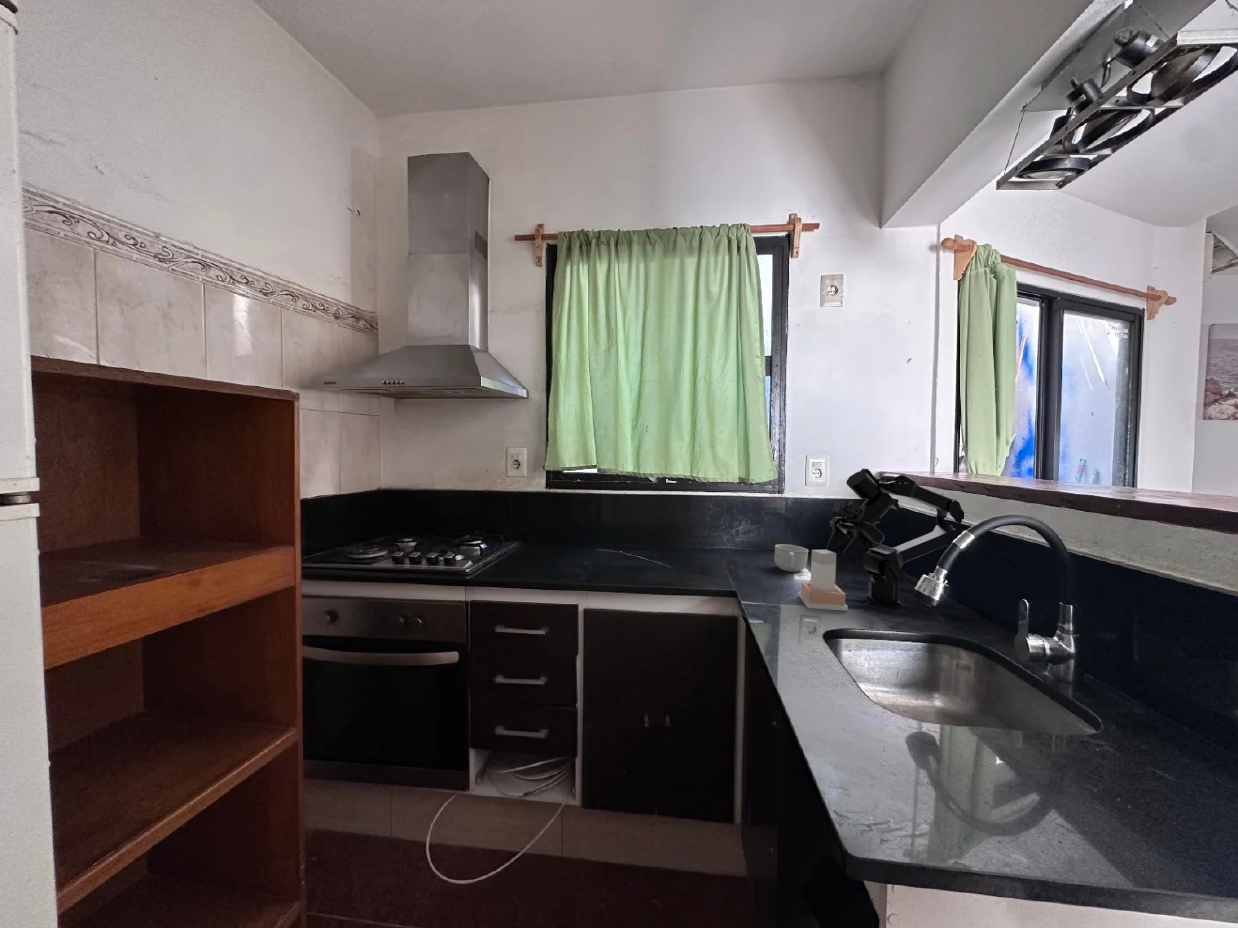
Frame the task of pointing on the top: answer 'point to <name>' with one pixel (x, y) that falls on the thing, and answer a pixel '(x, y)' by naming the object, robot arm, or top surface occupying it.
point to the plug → (823, 571)
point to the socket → (823, 598)
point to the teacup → (790, 557)
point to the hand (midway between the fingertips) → (835, 551)
